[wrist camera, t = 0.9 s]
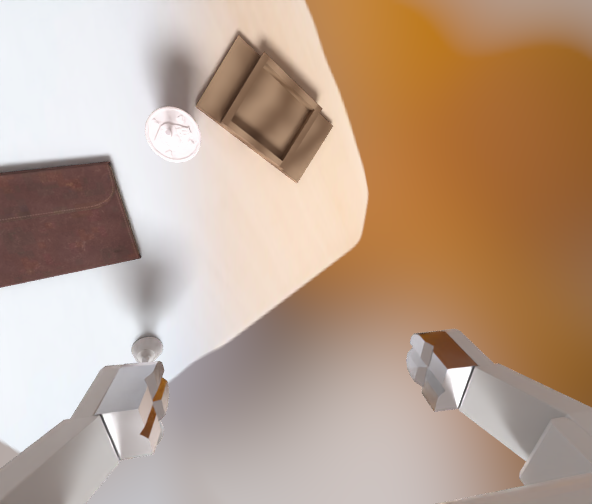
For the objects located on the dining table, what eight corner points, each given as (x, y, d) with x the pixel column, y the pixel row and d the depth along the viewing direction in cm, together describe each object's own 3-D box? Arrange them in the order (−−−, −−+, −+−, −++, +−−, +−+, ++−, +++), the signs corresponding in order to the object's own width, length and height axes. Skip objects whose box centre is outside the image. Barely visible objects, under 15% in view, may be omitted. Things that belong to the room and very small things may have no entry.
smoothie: (143, 124, 40) (126, 106, 28) (186, 112, 42) (189, 90, 29) (164, 168, 43) (157, 169, 30) (204, 155, 44) (213, 151, 32)
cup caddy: (195, 106, 42) (196, 102, 39) (237, 37, 41) (241, 29, 39) (295, 182, 51) (301, 183, 48) (330, 126, 51) (338, 124, 48)
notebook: (141, 256, 45) (139, 260, 44) (-11, 288, 39) (-20, 293, 37) (110, 161, 40) (107, 161, 39) (-70, 180, 34) (-84, 181, 32)
